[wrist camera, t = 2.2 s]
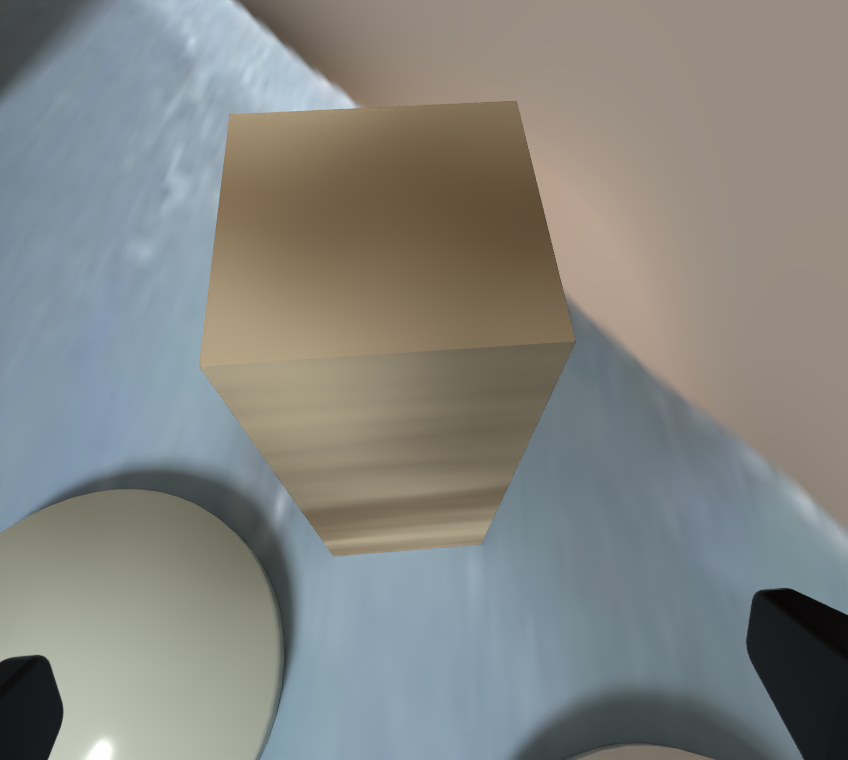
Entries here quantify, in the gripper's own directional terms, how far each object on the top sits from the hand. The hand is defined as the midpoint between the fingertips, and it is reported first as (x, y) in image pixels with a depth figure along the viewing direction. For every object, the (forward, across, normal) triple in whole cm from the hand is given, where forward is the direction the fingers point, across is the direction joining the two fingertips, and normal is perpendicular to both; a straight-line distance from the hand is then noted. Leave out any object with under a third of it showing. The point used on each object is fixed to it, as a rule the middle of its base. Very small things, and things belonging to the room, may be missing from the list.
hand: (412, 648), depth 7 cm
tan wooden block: (+12, 0, +4) cm, 13 cm away
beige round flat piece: (+8, +10, +8) cm, 15 cm away
